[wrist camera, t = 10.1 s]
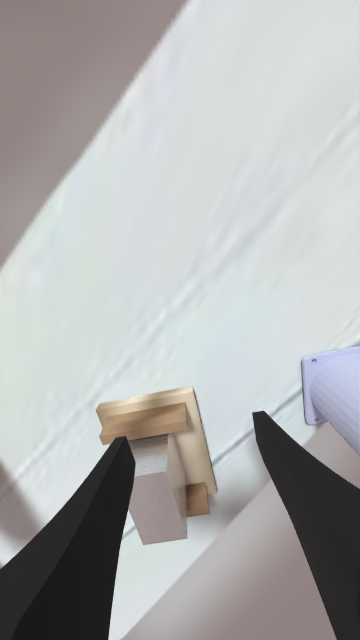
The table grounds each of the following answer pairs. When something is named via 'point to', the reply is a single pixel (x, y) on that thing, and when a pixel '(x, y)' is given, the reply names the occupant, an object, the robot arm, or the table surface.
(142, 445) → the aluminium block
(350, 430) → the robot arm
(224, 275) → the table surface
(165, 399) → the birch cradle
